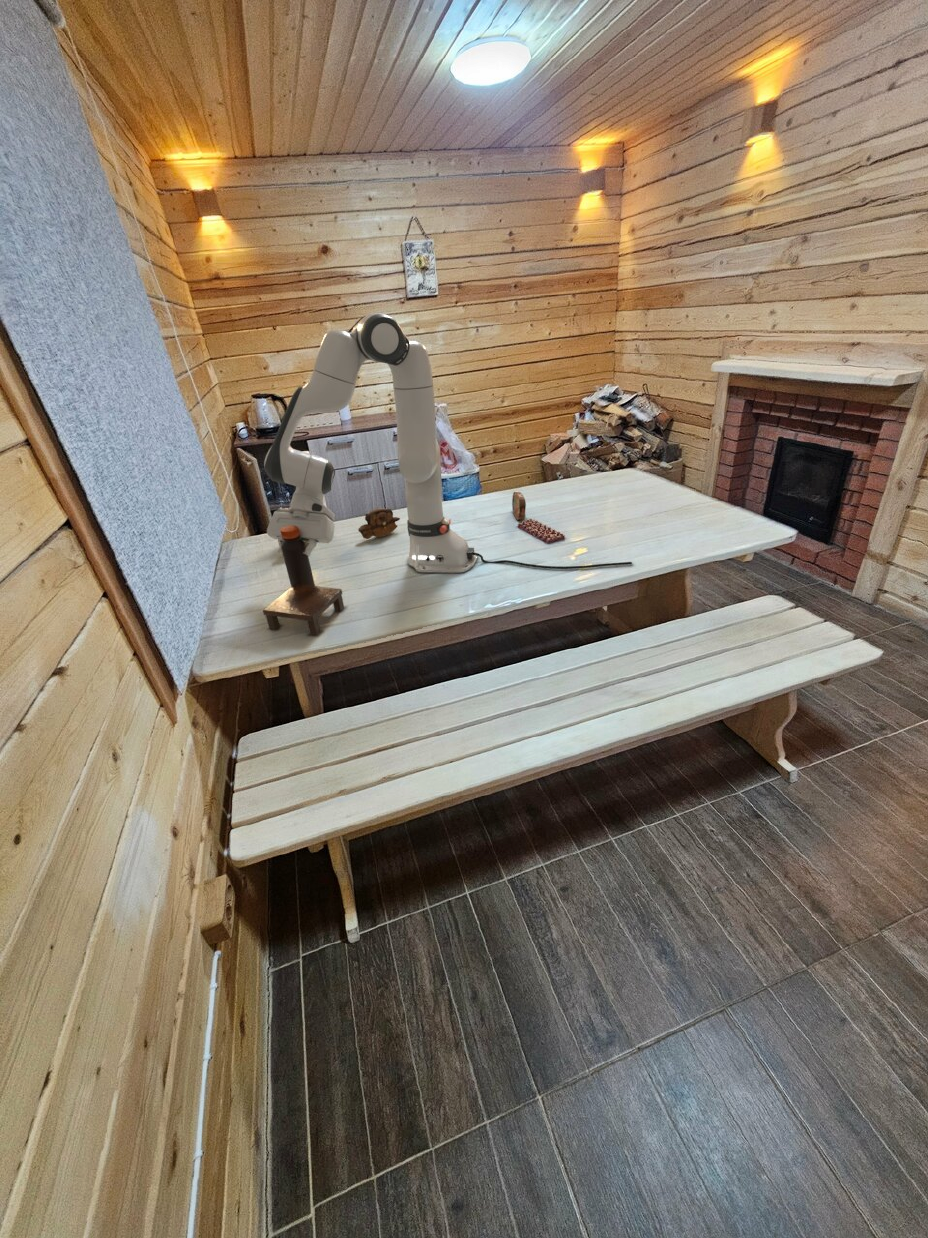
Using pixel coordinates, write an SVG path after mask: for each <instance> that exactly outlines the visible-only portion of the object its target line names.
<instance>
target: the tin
mask: <svg viewBox="0 0 928 1238" xmlns="http://www.w3.org/2000/svg"><path fill="white" fill-rule="evenodd" d="M511 500H512V501H511V504H512V505H511V507H512V513H513V515H514V517H515V519H516V520H517V521H518V520H524V519H525V518H526V508H527V505H526V504H527V503H526V502H527V501H526V499H525V497H524V495H523V493H522V492H520V491H513V494H512V499H511Z"/></svg>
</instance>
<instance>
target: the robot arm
mask: <svg viewBox="0 0 928 1238" xmlns="http://www.w3.org/2000/svg"><path fill="white" fill-rule="evenodd" d="M367 361H372V362H376V363H378V362H379V363H383V364H386V365H388V368H389V369H390V373H391V376H392V386H393V394H394V395H393V397H394V404H395V416H396V441H397V458H398V460H397V461H398V469H399V472H400V474H401V476H402V477H403V479H405V501H406V513H407V522H406V523H407V532H408V537H409V553H408V559H407V563H408V565H409V566H410V567H412V568H413V569H415V571H416V572H417V573H451V574H452V573H455V574H456V573H465V572H467V571H469V570H470V569H472V567H474V565H475V564H476V562H477V559H478V557H479V558H480V560H481V562H482V563H484V564H503V563H505V564H506V563H507V564H512V565H513V564H514V565H520V566H525V567H531V568H537V569H538V568H539V569H549V570H551V569H552V570H574V569H589V568H591V569H592V568H599V567H600V568H601V567H611V566H624V565H625V566H626V565H632V564H633V561H623V562H610V563H599V564H598V563H597V564H589V565H588V564H587V565H571V566H570V565H569V566H560V565H559V566H556V565H555V566H554V565H540V564H531V563H525V562H520V561H515V560H509V559H507V560H506V559H503V560H494V561H488V560H485V559H484V556H483V555H482V554H480V553H478V552H475V547H469V544H468V542H467V540H466V538H464V537H462V536H461V535H459V534H458V533H457V532H455V531H453V530H452V529H451V528H450V527H451V526H450V524H451V521H452V519H448V520H447V518H445V516H444V509H443V508H444V507H443V497H442V496H443V494H442V493H443V492H442V461H441V460H442V459H441V458H442V457H441V447H440V444H439V442H438V440H437V439H436V438H437V434H436V432H437V431H436V429H437V428H436V418H437V417H436V415H437V414H436V405H435V392H434V391H435V390H434V378H433V372H432V366H431V361H430V356H429V353H428V350H427V348H426V346H425V345H424V344H423V343H421V342H419V341H417V340H411V339H408V337H407V335H406V334H405V332H404V330H403V328H402V326H401V325H400V324H399V322H398V321H397V320H396V319H394V317H392V316H391V315H388V314H385V313H380V312H372V313H368V314H366V315H364V316H362V317H361V318H359V319H358V320H357V321H356V322H355V323H354V324H353V326H352V327H350V329H349V330H348V331H346V330H342V329H331V330H329V331H327V332H326V333H325V334H324V336H323V339H322V341H321V343H320V346H319V348H318V351H317V355H316V358H315V362H314V366H313V370H312V374H311V376H310V378H309V380H308V381H307V383H305V384H304V385H302V386H298V387H297V388H296V389H295V391H294V392H293V394H292V396H291V397H290V401H289V402H288V405H287V407H286V409H285V412H284V415H283V417H282V420H281V422H280V425H279V427H278V429H277V432H276V435H275V437H274V440H273V442H272V444H271V446H270V448H269V449H268V451H267V453H266V455H265V458H264V460H263V461H264V462H263V467H264V468H263V470H264V472H265V473H266V475H267V476H268V477H269V479H270V480H271V481H272V482H275V483H281V484H287V485H291V486H293V487H295V489H294V492H293V494H292V497H291V501H290V505H289V508H282V507H279V508H278V509H276V510H275V511H273V514H272V516H271V517H270V520H269V523H268V525H267V528H266V534H267V535H268V536H269V537H270V538H272V539H274V540H277V542H278V546H279V547H278V553H279V554H282V555H283V553H282V549H281V546H282V544H283V543H284V540H283V538H282V535H281V531H280V530H281V529H282V528H283V527H286V526H297V527H298V529H299V533H300V537H299V538H300V539H301V540H302V541H307V542H309V543H310V544H309V545H308V546H307V548H304V550H303V555H305V556H308V557H310V556H311V553H312V551H313V550H314V549H315V548H316V547H317V544H318V543H321V544H330V543H331V542H332V540H333V538H334V535H335V534H334V533H335V520H336V514H335V513H334V512H333V511H332V510H330V509H329V508H328V506H326V507H325V506H324V505H323V497H325V495H327V494H329V493H330V492H331V491H332V485H333V482H334V478H335V475H336V469H335V467H334V466H333V463H332V462H331V461H330V460H329V459H326V458H324V457H323V456H321V455H318V454H311V453H310V454H308V453H305V452H302V451H303V450H302V451H301V450H298V449H295V448H293V447H292V446H291V443H292V440H293V437H294V435H295V434H296V433H295V432H296V431H297V428H298V425H299V424H300V421H301V419H302V418H304V417H305V416H307V415H311V414H324V413H335V412H338V411H342V410H343V409H344V408H346V407H347V406H348V405H349V404H351V401H352V398H353V395H354V392H355V390H356V384H357V380H358V374H359V372H360V369H361V367H362V365H364V363H365V362H367Z"/></svg>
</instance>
